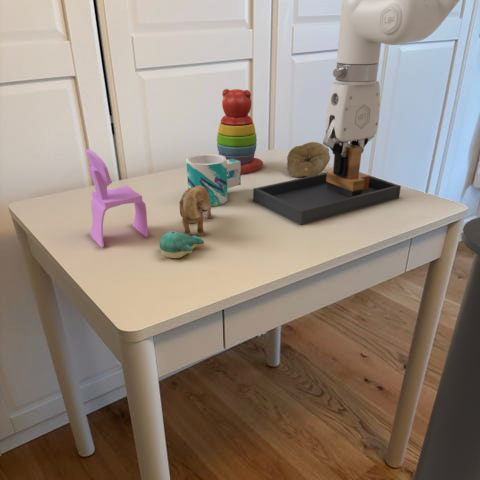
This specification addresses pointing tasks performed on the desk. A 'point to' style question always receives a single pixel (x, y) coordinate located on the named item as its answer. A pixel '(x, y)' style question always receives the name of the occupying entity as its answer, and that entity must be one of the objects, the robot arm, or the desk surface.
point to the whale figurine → (178, 244)
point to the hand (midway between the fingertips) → (345, 173)
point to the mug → (213, 175)
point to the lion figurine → (195, 208)
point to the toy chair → (111, 199)
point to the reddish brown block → (366, 182)
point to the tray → (320, 198)
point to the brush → (348, 175)
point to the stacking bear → (238, 131)
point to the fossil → (307, 159)
